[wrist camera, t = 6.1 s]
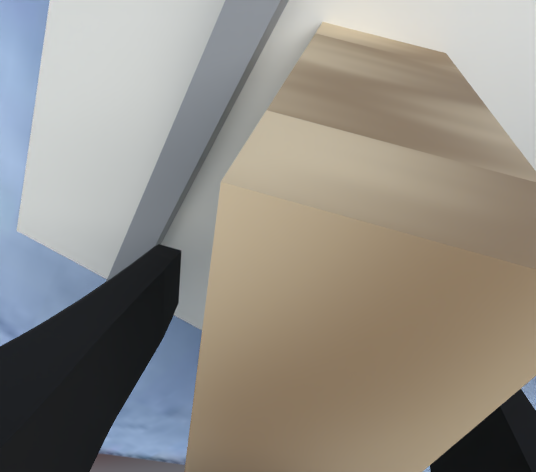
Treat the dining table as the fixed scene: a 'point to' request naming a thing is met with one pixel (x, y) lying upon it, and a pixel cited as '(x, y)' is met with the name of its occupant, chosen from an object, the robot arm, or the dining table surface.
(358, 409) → the wooden frame
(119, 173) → the white board with bars
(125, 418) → the dining table surface
